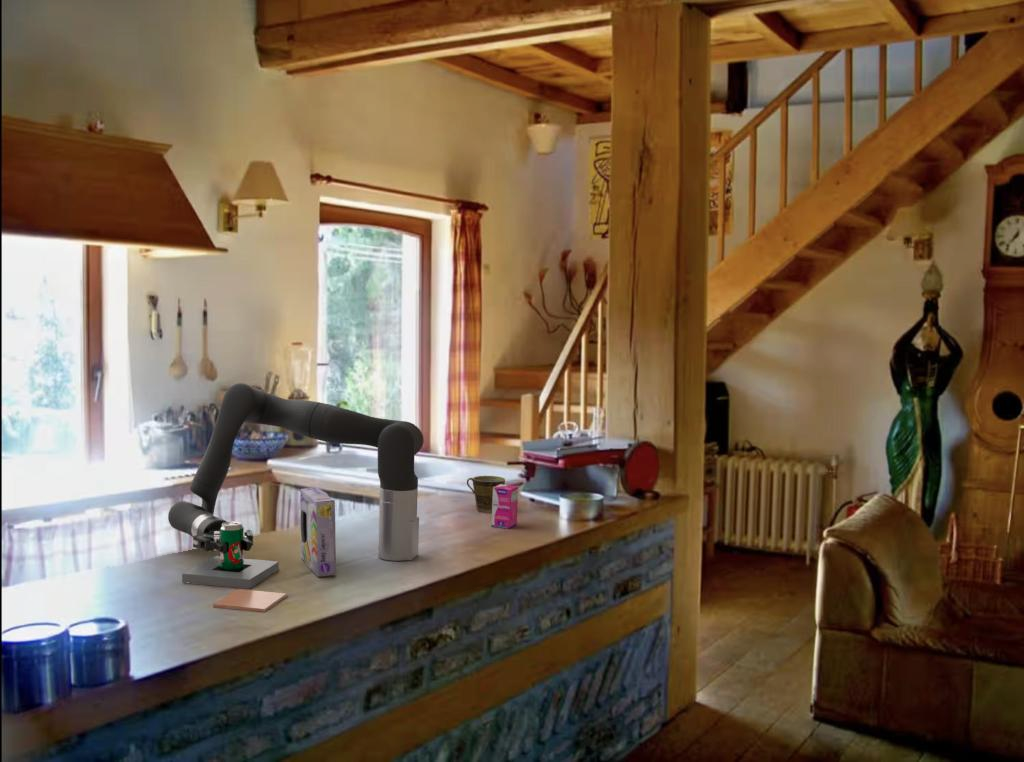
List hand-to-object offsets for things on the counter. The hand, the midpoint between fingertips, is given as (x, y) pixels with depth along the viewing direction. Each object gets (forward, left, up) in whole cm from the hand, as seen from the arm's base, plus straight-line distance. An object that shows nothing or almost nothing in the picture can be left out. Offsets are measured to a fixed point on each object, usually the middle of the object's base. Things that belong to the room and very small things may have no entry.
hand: (236, 547), depth 220 cm
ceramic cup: (-37, -91, -7) cm, 98 cm away
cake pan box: (-13, -15, -7) cm, 21 cm away
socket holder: (+2, -2, -7) cm, 8 cm away
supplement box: (-47, -72, -7) cm, 86 cm away
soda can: (+2, -2, -7) cm, 8 cm away
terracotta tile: (-10, +14, -7) cm, 19 cm away
